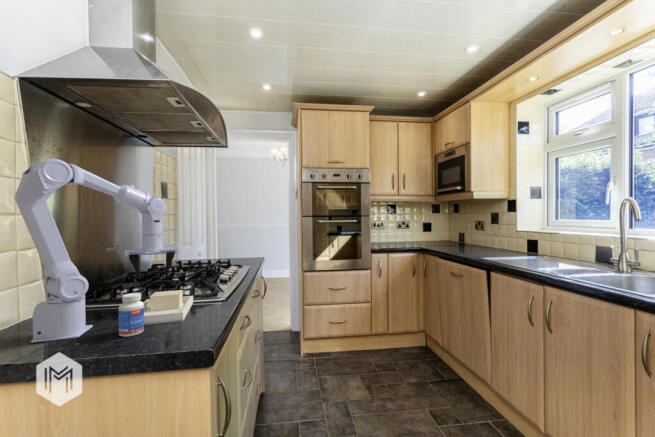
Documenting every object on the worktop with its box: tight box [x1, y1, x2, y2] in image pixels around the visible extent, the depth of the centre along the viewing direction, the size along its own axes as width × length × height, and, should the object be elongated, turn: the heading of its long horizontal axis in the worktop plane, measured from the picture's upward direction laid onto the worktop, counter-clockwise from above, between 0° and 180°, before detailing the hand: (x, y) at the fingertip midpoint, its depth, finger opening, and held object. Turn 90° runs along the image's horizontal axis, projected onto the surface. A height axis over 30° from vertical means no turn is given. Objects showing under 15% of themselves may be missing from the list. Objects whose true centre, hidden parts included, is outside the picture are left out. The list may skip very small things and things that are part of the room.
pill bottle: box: [118, 292, 145, 338], centre depth 74 cm, size 6×5×10 cm
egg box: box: [149, 289, 184, 311], centre depth 93 cm, size 8×6×4 cm
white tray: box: [142, 295, 194, 326], centre depth 89 cm, size 14×18×2 cm
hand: (153, 277), depth 92 cm, fingers open, 7 cm apart
